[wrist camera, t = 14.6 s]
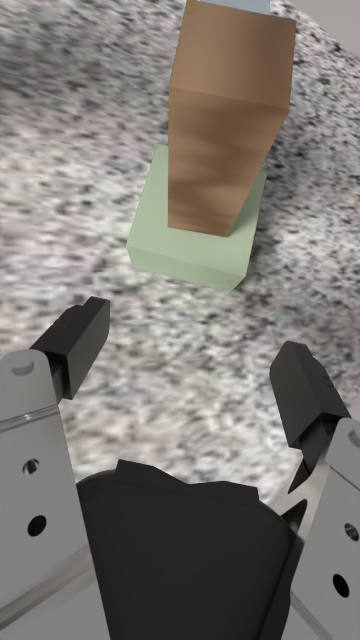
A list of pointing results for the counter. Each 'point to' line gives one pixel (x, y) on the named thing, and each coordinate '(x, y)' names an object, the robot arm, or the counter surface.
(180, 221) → the walnut block
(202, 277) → the base block
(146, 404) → the counter surface
